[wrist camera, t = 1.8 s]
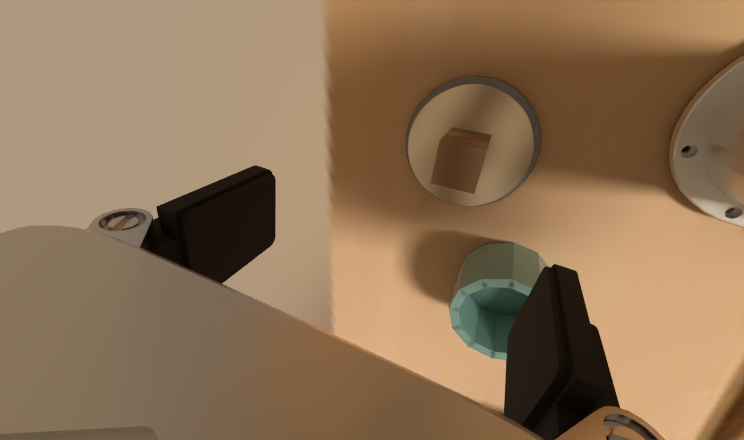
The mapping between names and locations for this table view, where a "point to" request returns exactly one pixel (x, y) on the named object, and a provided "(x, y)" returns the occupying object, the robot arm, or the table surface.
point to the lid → (471, 145)
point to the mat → (503, 87)
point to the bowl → (492, 294)
